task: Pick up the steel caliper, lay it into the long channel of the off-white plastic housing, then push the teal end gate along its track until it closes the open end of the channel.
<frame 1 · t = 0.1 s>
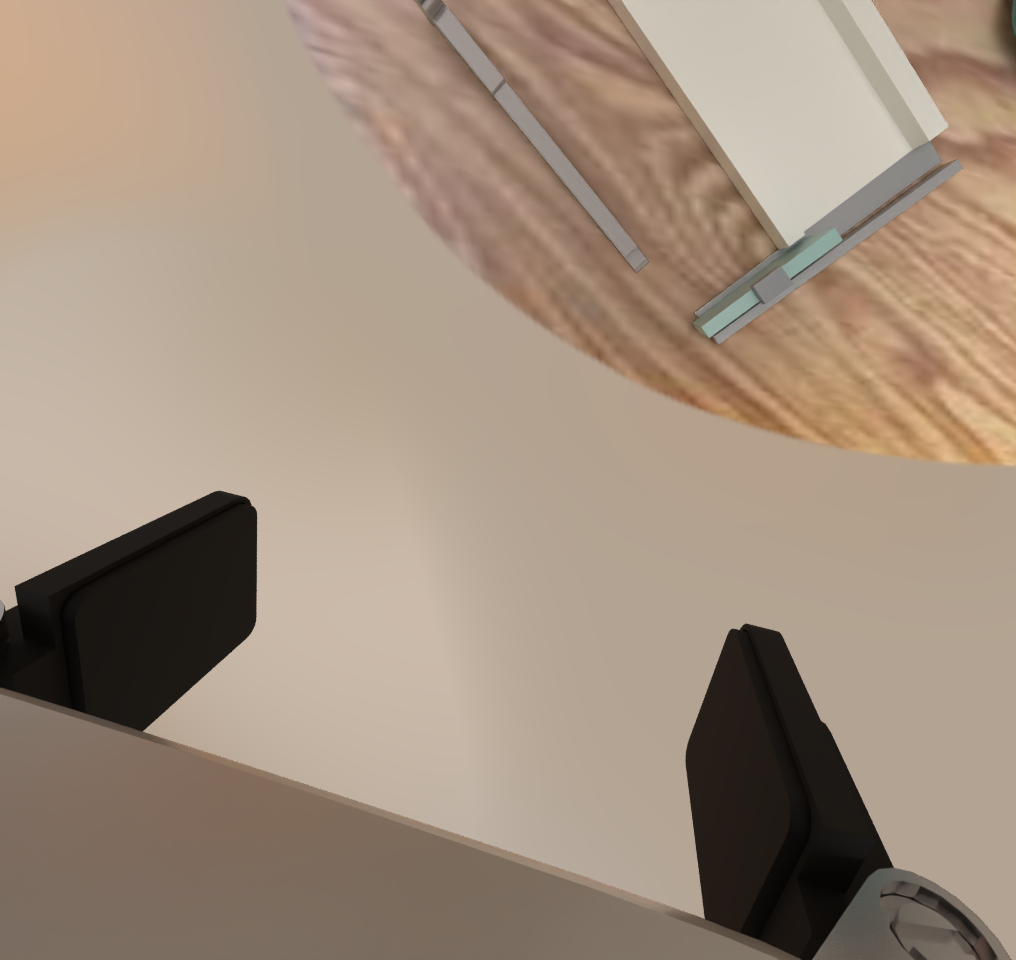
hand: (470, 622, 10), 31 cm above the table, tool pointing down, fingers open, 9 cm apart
caliper: (542, 145, 36), on the table
gate: (760, 286, 32), point 3 cm above the table, slide at 7.0 cm
housing: (738, 29, 31), on the table
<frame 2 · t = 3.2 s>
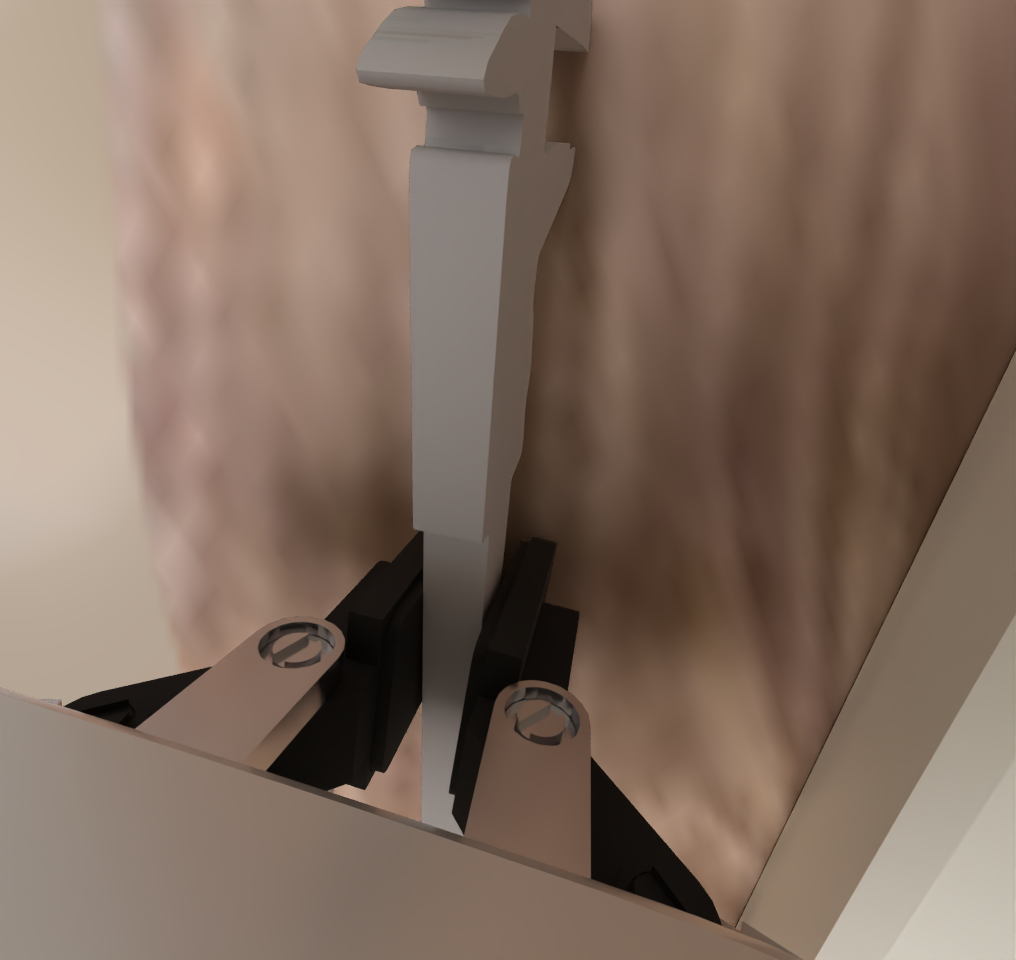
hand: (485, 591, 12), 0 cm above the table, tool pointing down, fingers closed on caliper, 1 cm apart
caliper: (493, 576, 12), on the table, touching gripper
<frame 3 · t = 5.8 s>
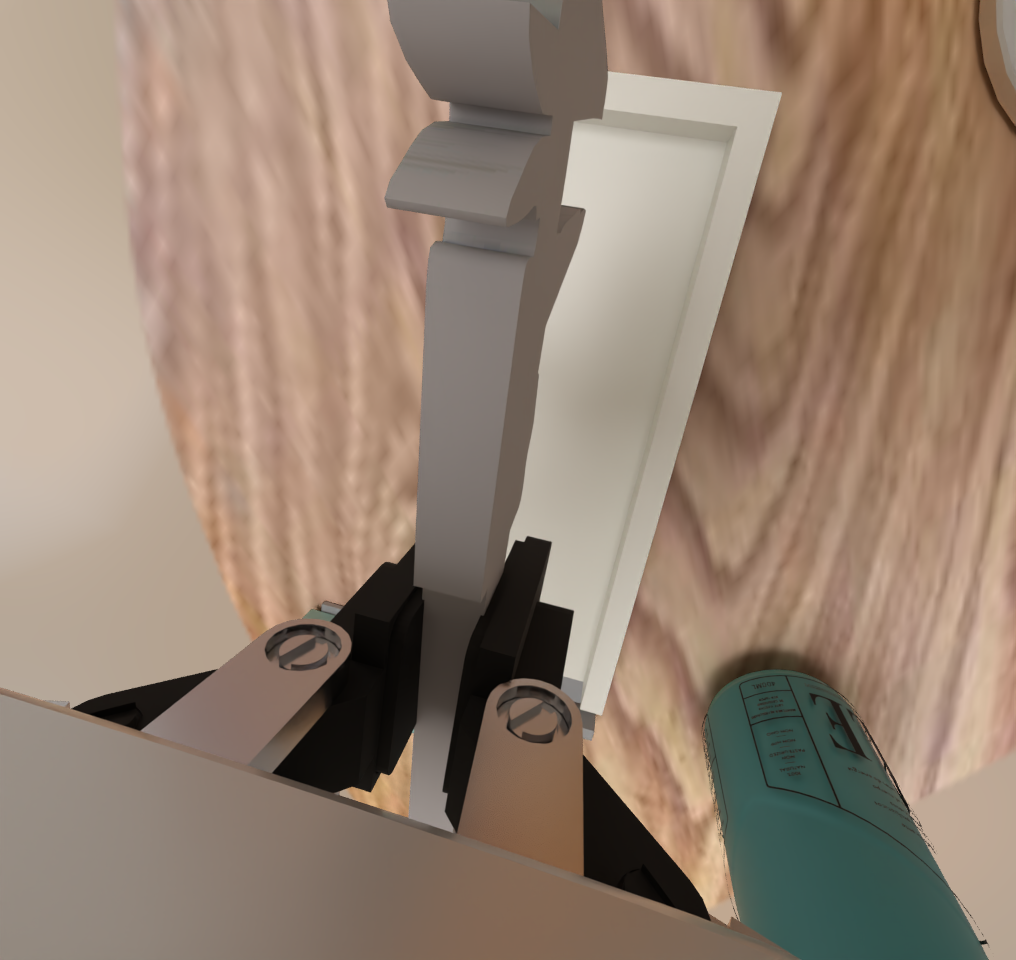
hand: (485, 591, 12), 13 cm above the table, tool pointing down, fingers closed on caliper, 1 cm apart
caliper: (486, 610, 13), point 12 cm above the table, touching gripper
gate: (355, 672, 26), point 3 cm above the table, slide at 7.0 cm
beverage bottle: (769, 698, 26), on the table
housing: (560, 438, 24), on the table
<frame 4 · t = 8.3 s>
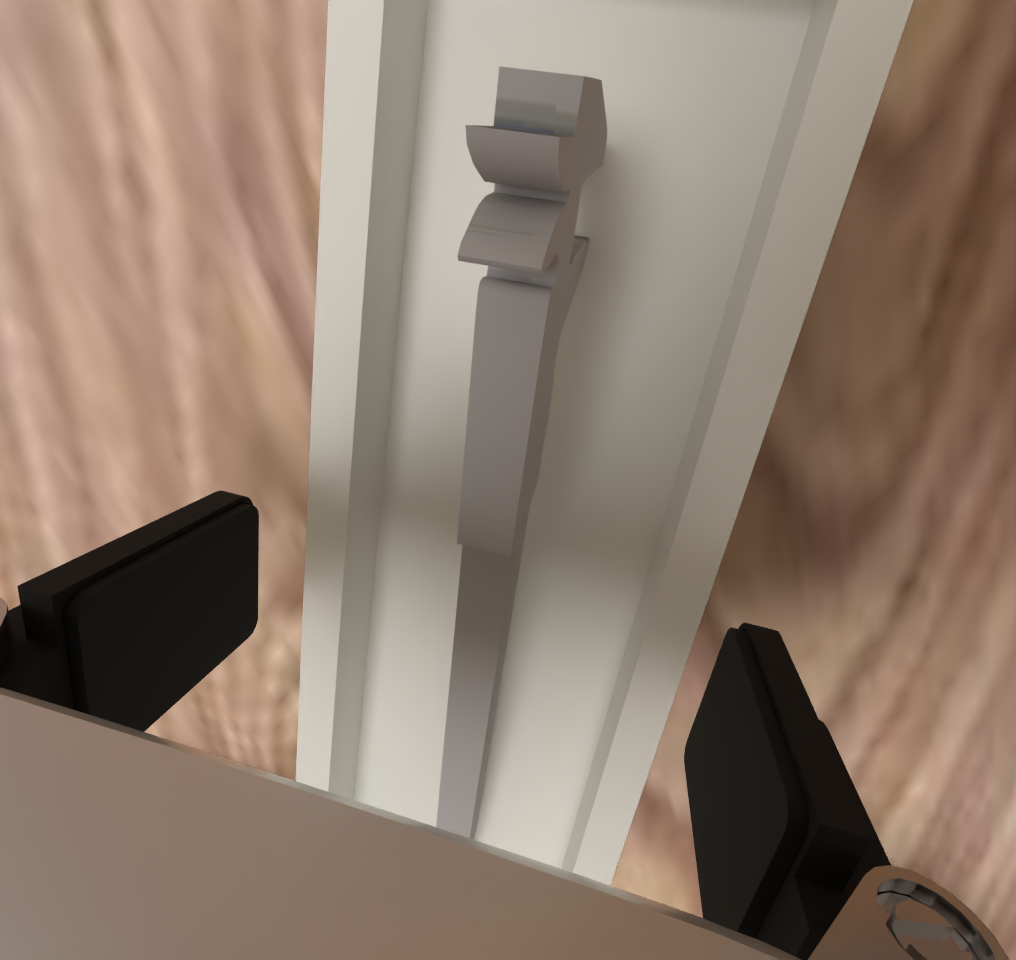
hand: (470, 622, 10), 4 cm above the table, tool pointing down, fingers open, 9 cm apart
caliper: (506, 578, 15), resting on housing
housing: (513, 532, 14), on the table
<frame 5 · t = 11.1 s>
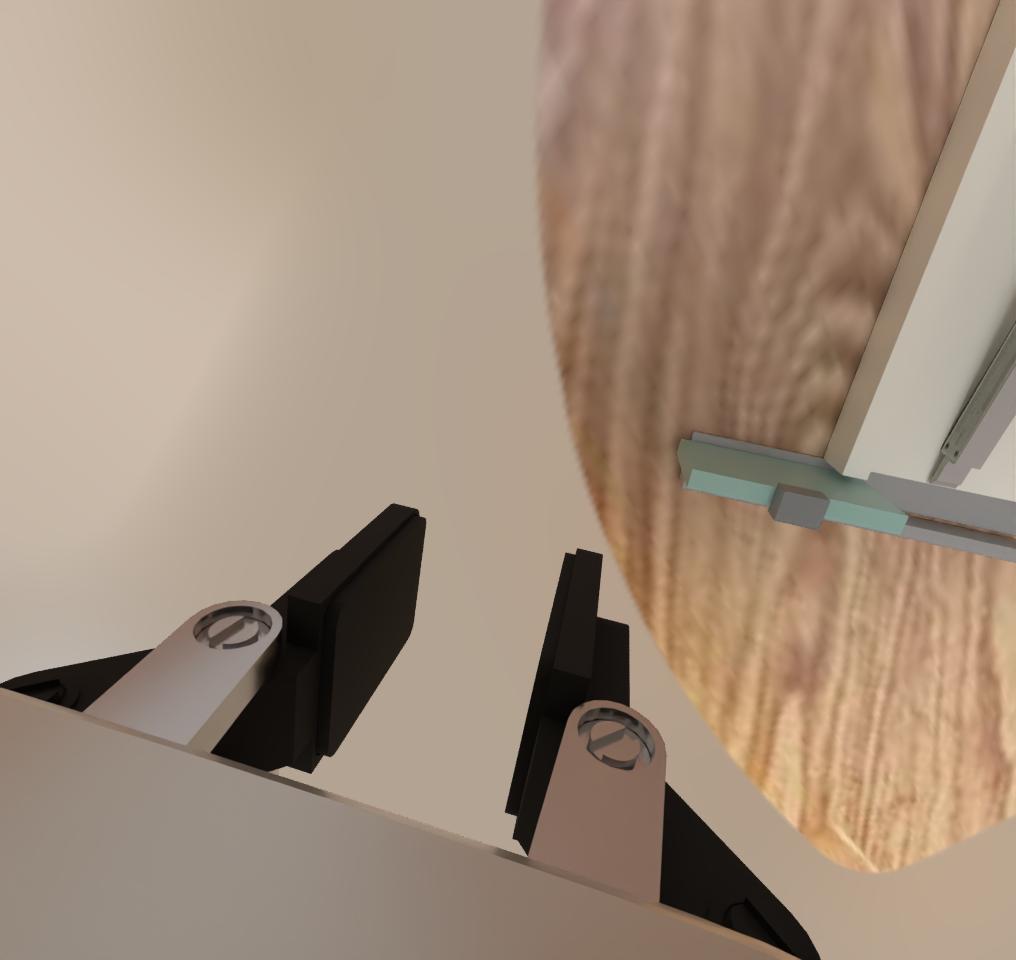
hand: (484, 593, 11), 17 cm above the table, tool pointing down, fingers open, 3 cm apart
gate: (780, 484, 23), point 3 cm above the table, slide at 7.0 cm
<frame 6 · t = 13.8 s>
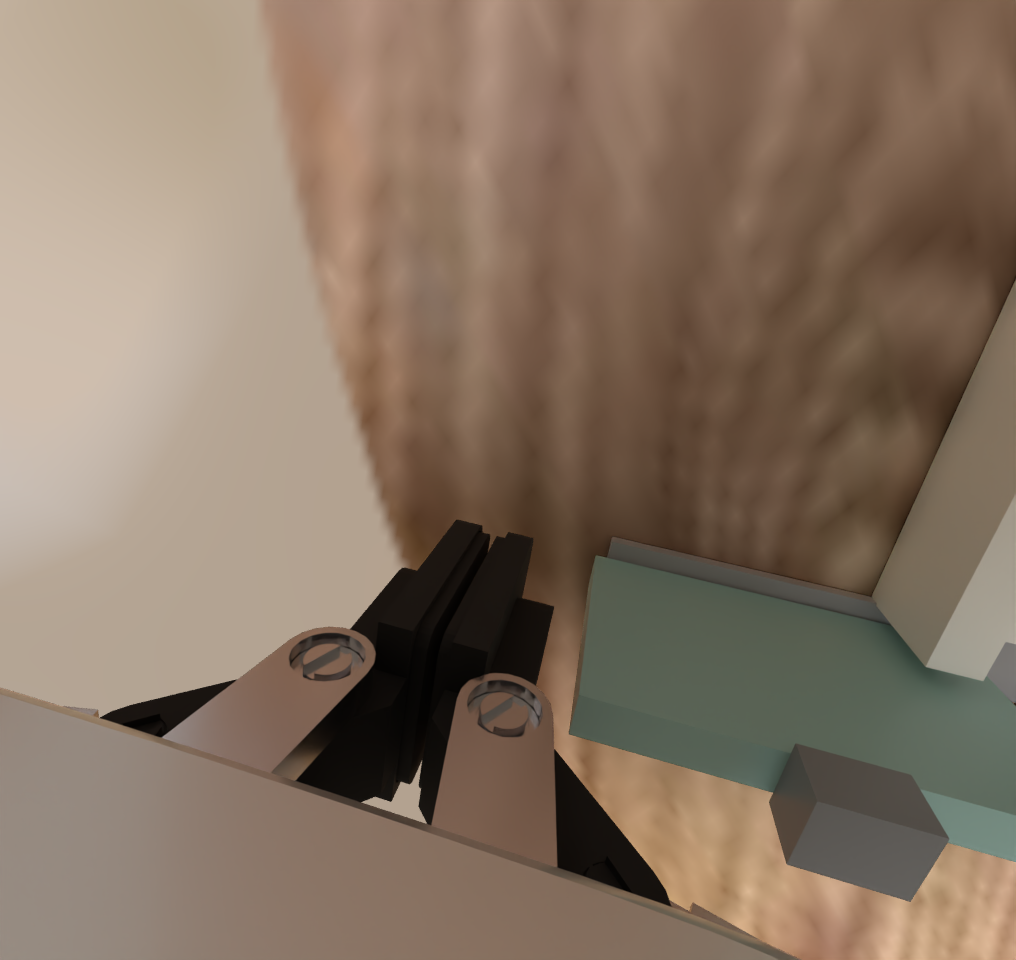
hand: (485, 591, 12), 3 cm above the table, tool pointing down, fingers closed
gate: (798, 697, 10), point 3 cm above the table, slide at 6.8 cm, touching gripper
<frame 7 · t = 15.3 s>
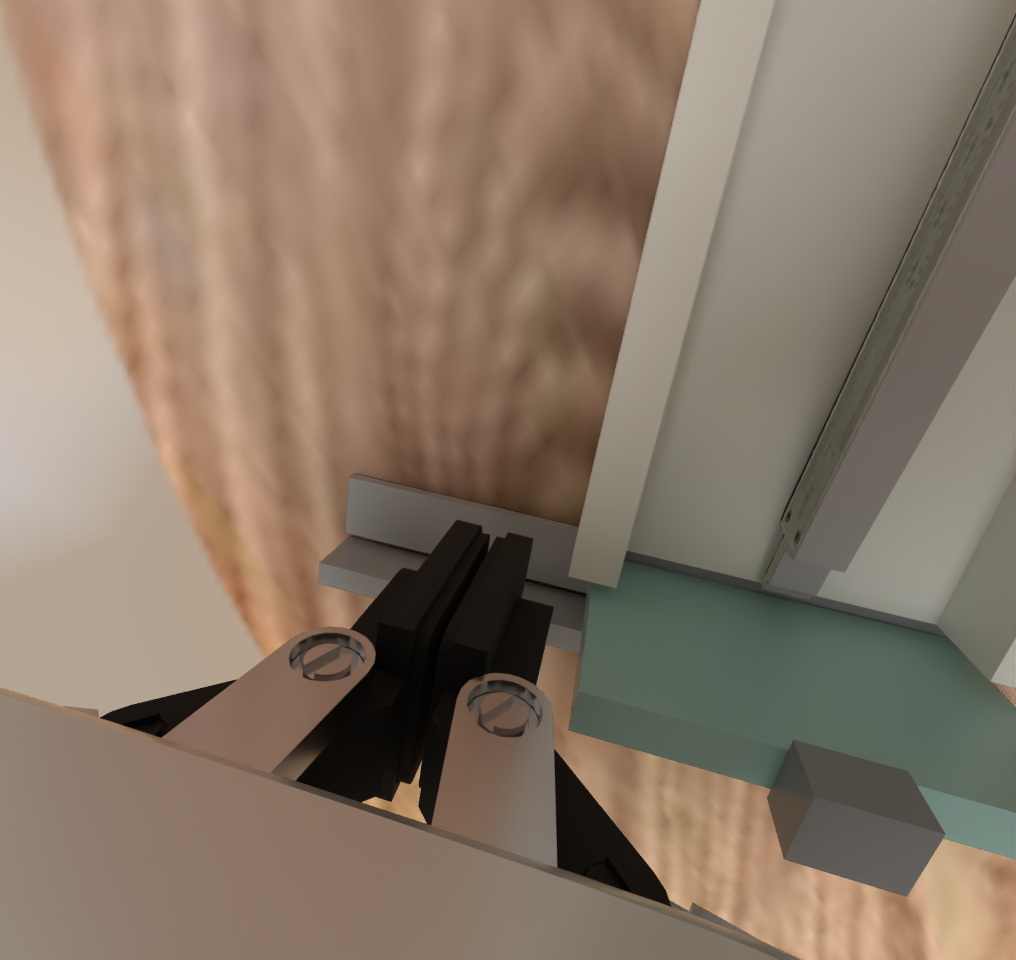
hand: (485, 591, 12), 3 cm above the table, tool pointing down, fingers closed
caliper: (983, 50, 9), resting on housing
gate: (796, 695, 10), point 3 cm above the table, slide at 0.0 cm, touching gripper
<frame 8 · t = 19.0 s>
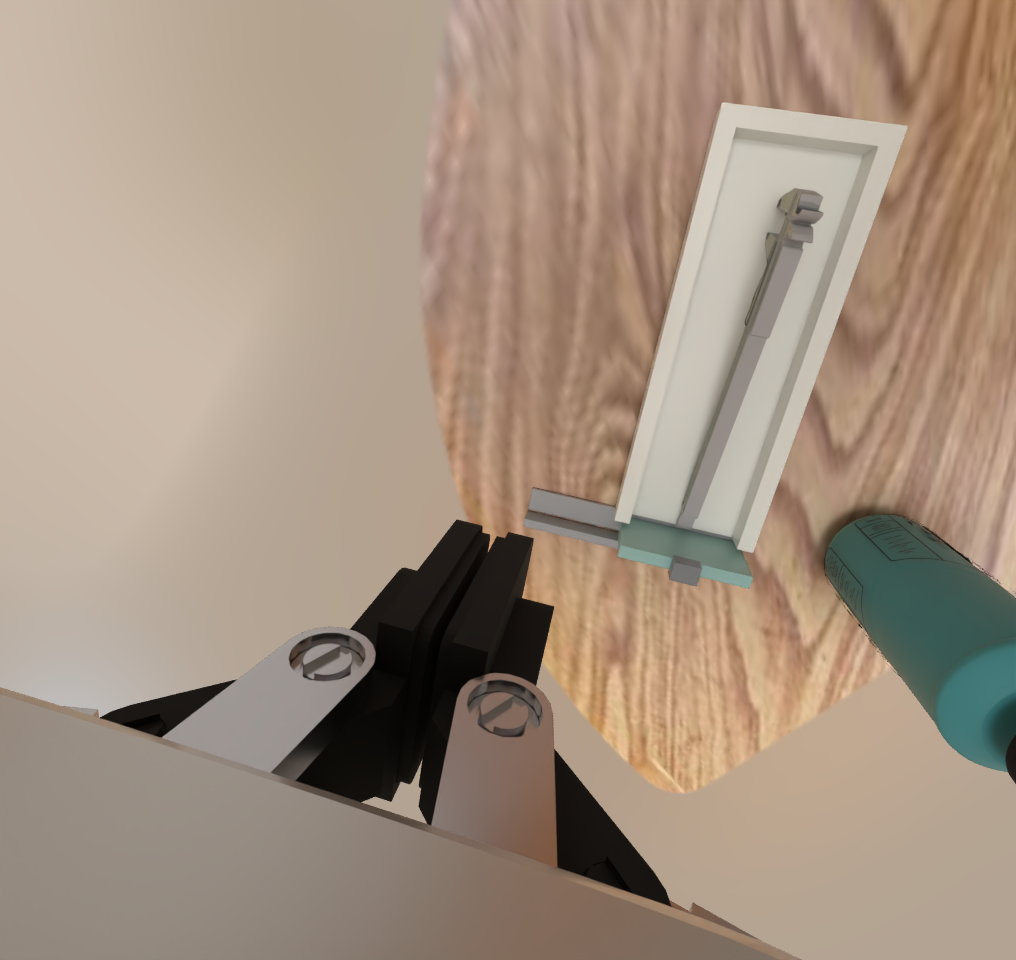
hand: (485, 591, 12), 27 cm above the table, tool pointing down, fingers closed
caliper: (728, 379, 34), resting on housing
gate: (681, 552, 35), point 3 cm above the table, slide at 0.0 cm
beverage bottle: (866, 545, 36), on the table
housing: (729, 356, 34), on the table
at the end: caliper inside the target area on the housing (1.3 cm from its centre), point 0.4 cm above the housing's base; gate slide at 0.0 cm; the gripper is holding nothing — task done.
